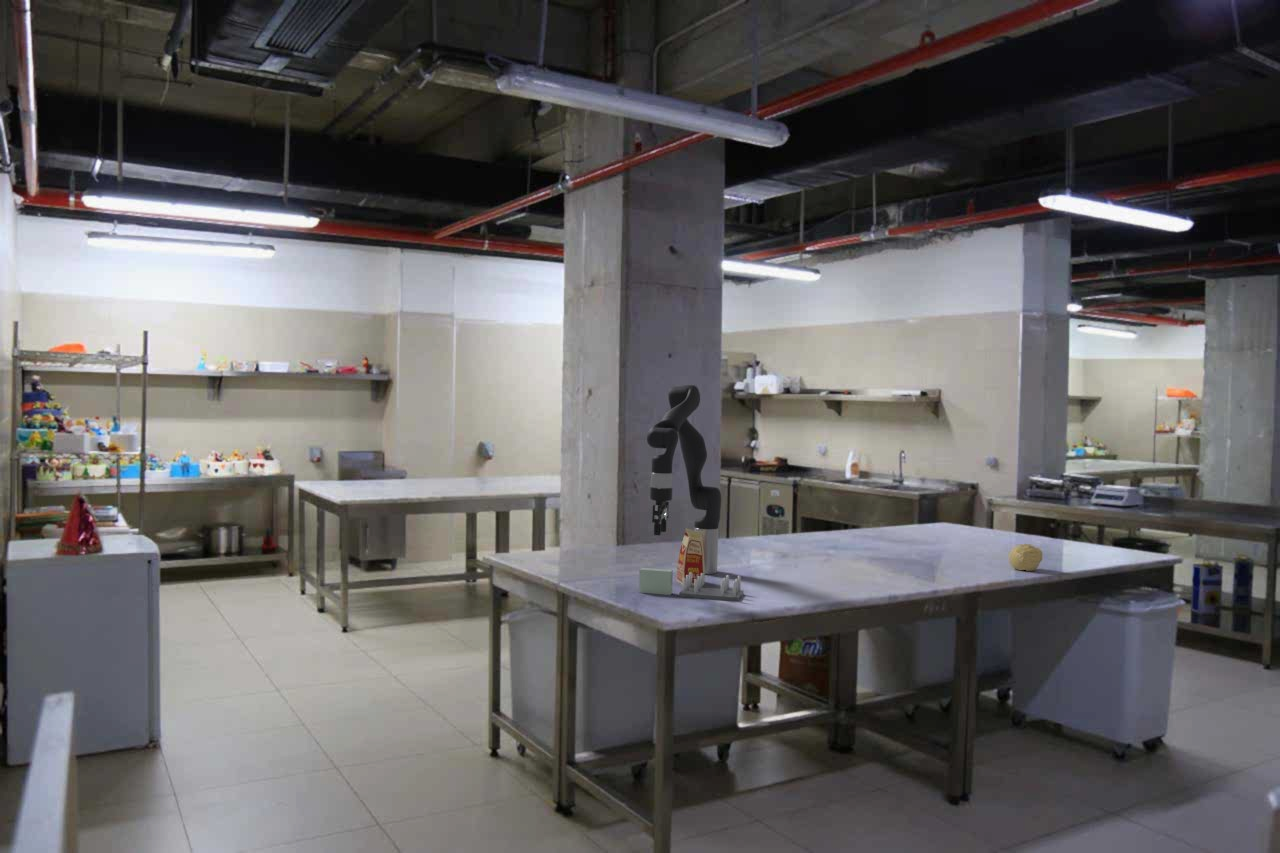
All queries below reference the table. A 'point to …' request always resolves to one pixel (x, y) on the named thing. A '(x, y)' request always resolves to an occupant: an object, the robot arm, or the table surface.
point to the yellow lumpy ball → (1025, 557)
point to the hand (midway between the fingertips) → (660, 533)
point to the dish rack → (711, 589)
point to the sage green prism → (655, 581)
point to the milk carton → (691, 556)
